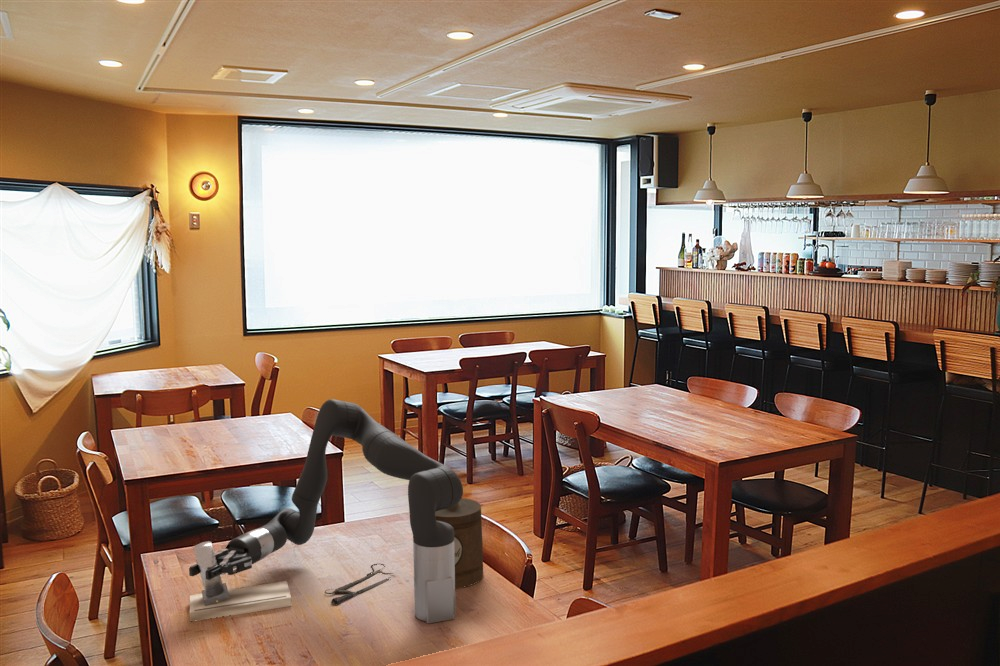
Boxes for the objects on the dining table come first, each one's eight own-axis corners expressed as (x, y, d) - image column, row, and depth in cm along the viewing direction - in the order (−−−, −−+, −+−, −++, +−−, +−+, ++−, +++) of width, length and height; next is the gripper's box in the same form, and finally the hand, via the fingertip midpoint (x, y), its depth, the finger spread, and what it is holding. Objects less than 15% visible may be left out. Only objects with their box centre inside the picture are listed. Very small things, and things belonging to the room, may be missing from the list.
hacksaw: (335, 607, 192) (334, 601, 192) (305, 596, 198) (305, 590, 198) (407, 573, 211) (406, 567, 211) (378, 564, 217) (378, 558, 217)
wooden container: (411, 577, 208) (409, 492, 205) (454, 560, 218) (452, 479, 216) (453, 594, 198) (451, 505, 195) (495, 575, 208) (494, 490, 206)
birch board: (291, 605, 192) (291, 597, 192) (190, 621, 185) (189, 613, 184) (286, 588, 202) (286, 580, 201) (190, 603, 194) (189, 595, 194)
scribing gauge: (230, 599, 189) (216, 547, 186) (205, 608, 187) (191, 555, 184) (227, 588, 195) (214, 537, 192) (203, 596, 193) (189, 545, 190)
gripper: (227, 529, 205) (173, 553, 190) (273, 537, 199) (222, 562, 184) (228, 558, 206) (175, 584, 191) (274, 567, 200) (223, 595, 185)
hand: (198, 573), depth 187 cm, fingers closed on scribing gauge, 4 cm apart
